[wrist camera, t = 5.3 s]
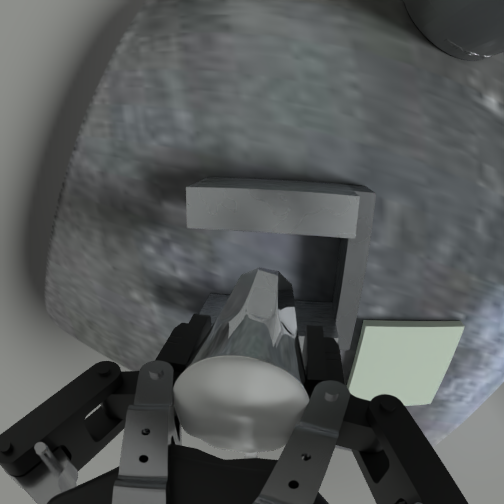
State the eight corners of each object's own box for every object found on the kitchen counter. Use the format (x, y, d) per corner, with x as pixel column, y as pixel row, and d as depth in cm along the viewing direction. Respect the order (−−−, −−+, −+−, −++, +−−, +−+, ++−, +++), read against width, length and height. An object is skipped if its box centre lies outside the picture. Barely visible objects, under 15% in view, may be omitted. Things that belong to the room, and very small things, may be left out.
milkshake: (233, 342, 18) (188, 491, 9) (214, 259, 16) (130, 403, 7) (310, 337, 17) (312, 497, 8) (302, 250, 16) (306, 409, 6)
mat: (363, 319, 25) (365, 326, 24) (460, 320, 24) (464, 326, 23) (342, 400, 28) (343, 407, 28) (428, 397, 27) (430, 403, 26)
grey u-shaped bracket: (208, 177, 23) (185, 187, 18) (365, 186, 21) (384, 198, 17) (211, 318, 27) (195, 353, 22) (344, 329, 26) (352, 366, 21)
